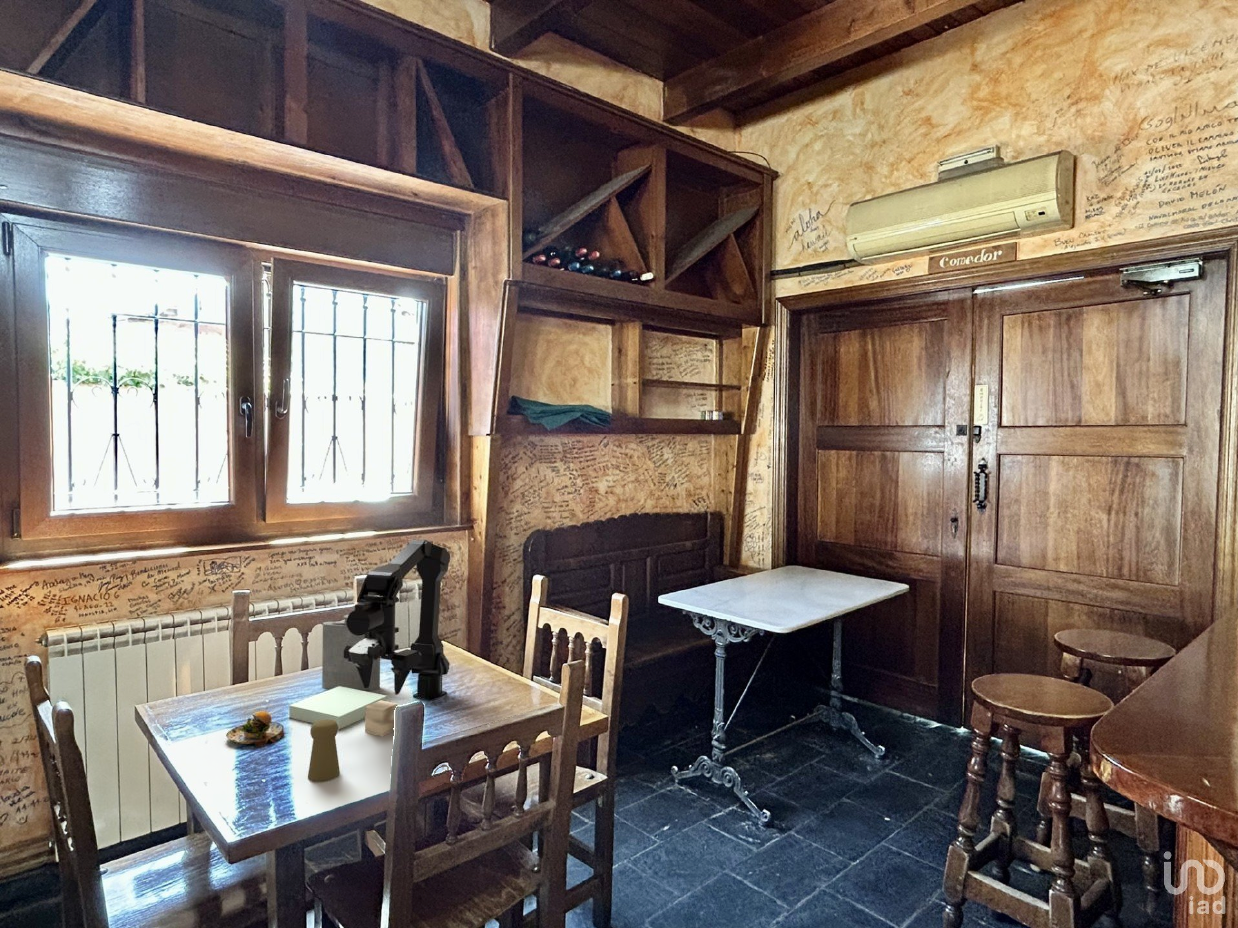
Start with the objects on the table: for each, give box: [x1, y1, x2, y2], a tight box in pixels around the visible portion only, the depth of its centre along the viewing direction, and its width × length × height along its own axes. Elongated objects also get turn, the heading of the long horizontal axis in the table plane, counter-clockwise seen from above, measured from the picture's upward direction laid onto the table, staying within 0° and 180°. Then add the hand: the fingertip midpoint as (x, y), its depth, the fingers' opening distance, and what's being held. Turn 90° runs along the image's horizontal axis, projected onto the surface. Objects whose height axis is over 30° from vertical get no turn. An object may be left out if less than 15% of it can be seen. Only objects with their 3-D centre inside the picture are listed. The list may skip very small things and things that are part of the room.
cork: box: [307, 719, 341, 783], centre depth 149 cm, size 6×6×11 cm
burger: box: [225, 705, 285, 748], centre depth 167 cm, size 12×12×8 cm
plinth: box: [288, 686, 388, 730], centre depth 183 cm, size 16×16×3 cm
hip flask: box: [321, 614, 381, 691], centre depth 201 cm, size 16×4×20 cm, turn 86°
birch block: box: [364, 700, 398, 737], centre depth 172 cm, size 5×5×6 cm
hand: (381, 690), depth 172 cm, fingers open, 9 cm apart
